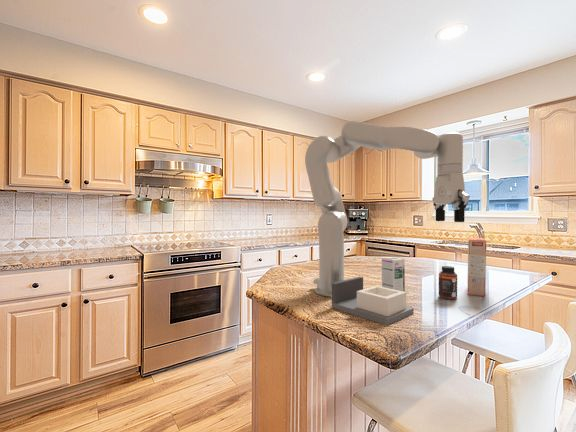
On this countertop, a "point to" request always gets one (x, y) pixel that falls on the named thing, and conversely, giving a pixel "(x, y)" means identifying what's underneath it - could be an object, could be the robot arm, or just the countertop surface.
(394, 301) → the socket block
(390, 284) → the syrup box
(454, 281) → the supplement bottle
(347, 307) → the slide base
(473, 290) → the cracker box
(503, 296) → the countertop surface
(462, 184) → the robot arm
